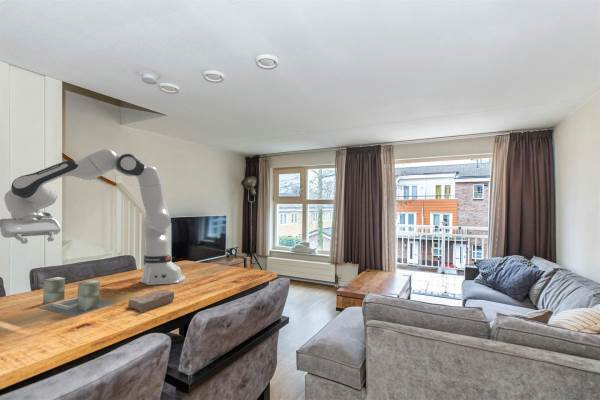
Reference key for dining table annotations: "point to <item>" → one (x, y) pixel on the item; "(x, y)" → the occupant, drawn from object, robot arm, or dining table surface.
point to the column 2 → (88, 295)
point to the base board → (72, 307)
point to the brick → (151, 300)
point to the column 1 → (53, 289)
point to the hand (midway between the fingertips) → (38, 241)
